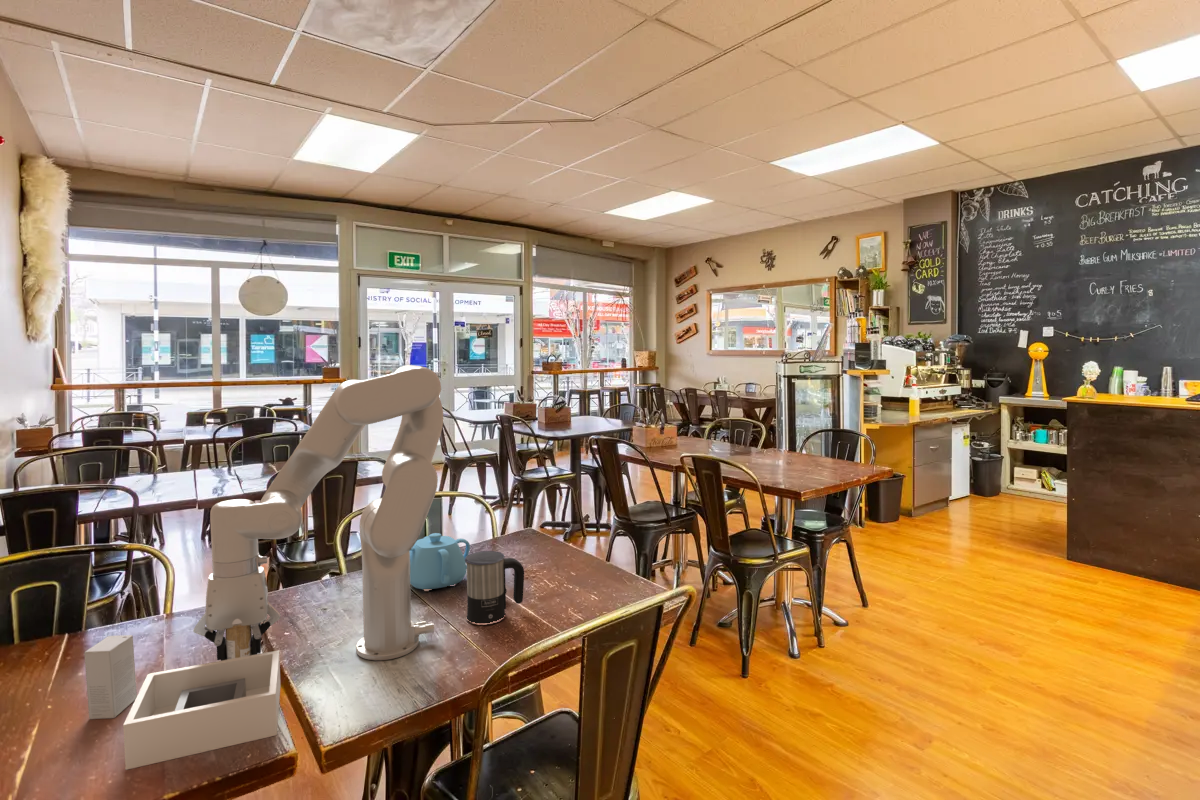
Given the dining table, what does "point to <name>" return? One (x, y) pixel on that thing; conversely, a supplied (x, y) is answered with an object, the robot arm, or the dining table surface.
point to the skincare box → (110, 676)
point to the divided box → (203, 709)
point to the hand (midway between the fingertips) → (239, 658)
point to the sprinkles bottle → (238, 641)
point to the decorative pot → (437, 562)
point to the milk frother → (490, 585)
